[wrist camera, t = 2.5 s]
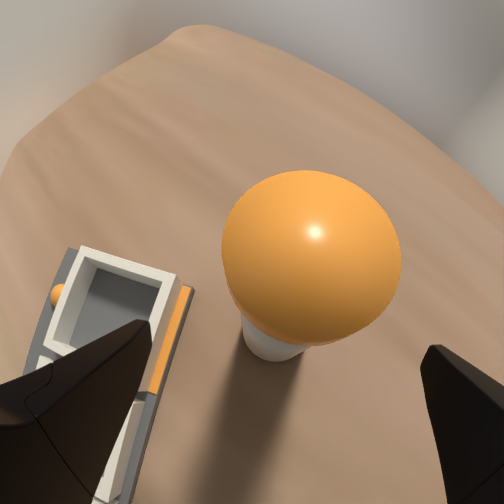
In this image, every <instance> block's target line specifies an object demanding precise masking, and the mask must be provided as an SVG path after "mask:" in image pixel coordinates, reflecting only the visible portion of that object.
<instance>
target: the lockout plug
mask: <svg viewBox="0 0 504 504" xmlns="http://www.w3.org/2000/svg"><path fill="white" fill-rule="evenodd" d="M222 259H223V265H224V270H225V275H226V280H227V284H228V288H229V291H230V294H231V296H232V298H233V300H234V302H235V304H236V305H237V307H238V308H239V310H240V311H241V321H242V330H243V337H244V340H245V343H246V345H247V346H248V348H249V349H250V350H251V352H252V353H254V354H255V355H256V356H257V357H259V358H261V359H263V360H266V361H271V362H281V361H285V360H288V359H290V358H292V357H294V356H296V355H297V354H299V353H301V352H303V351H304V350H306V349H308V348H309V347H311V346H319V345H325V344H329V343H333V342H336V341H339V340H341V339H343V338H346V337H348V336H349V335H351V334H353V333H355V332H357V331H359V330H361V329H362V328H364V327H366V326H367V325H369V324H370V323H371V322H373V321H374V320H375V319H376V318H377V317H378V316H379V315H380V314H381V313H382V312H383V311H384V310H385V309H386V307H387V306H388V304H389V303H390V301H391V299H392V298H393V295H394V293H395V291H396V289H397V285H398V282H399V278H400V272H401V252H400V245H399V241H398V238H397V235H396V232H395V229H394V227H393V225H392V223H391V221H390V219H389V218H388V216H387V215H386V213H385V212H384V210H383V209H382V208H381V206H380V205H379V204H378V203H377V202H376V201H375V200H374V199H373V198H372V197H371V196H370V195H369V194H368V193H366V192H365V191H364V190H362V189H361V188H360V187H358V186H356V185H355V184H353V183H351V182H349V181H347V180H345V179H343V178H340V177H338V176H335V175H331V174H328V173H323V172H317V171H292V172H286V173H282V174H277V175H275V176H272V177H269V178H267V179H265V180H263V181H261V182H259V183H258V184H256V185H255V186H253V187H252V188H250V189H249V190H248V191H247V192H246V193H245V194H244V195H243V196H242V197H241V198H240V199H239V200H238V202H237V203H236V204H235V206H234V207H233V209H232V211H231V212H230V214H229V217H228V219H227V221H226V224H225V228H224V231H223V237H222Z"/></svg>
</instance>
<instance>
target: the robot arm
mask: <svg viewBox="0 0 504 504" xmlns="http://www.w3.org/2000/svg"><path fill="white" fill-rule="evenodd" d="M151 349H152V335H151V326H150V323H149V321H147V320H142V319H135V320H133V321H131V322H129V323H127V324H125V325H123V326H121V327H119V328H118V329H116V330H114V331H112V332H110V333H108V334H106V335H104V336H102V337H100V338H98V339H96V340H94V341H92V342H90V343H88V344H86V345H84V346H82V347H80V348H79V349H77V350H75V351H73V352H71V353H69V354H67V355H65V356H63V357H61V358H59V359H57V360H55V361H53V363H49V364H47V365H45V366H43V367H41V368H39V369H37V370H35V371H33V372H31V373H28V374H26V375H24V376H21V377H19V378H16V379H14V380H11V381H9V382H6V383H4V384H1V385H0V504H91V503H92V501H93V498H92V497H94V495H95V493H96V490H97V487H98V485H99V482H100V480H101V477H102V475H103V472H104V470H105V467H106V465H107V462H108V460H109V458H110V455H111V453H112V450H113V448H114V446H115V443H116V441H117V438H118V436H119V434H120V431H121V429H122V427H123V424H124V422H125V420H126V417H127V415H128V413H129V410H130V408H131V406H132V404H133V401H134V399H135V397H136V395H137V392H138V390H139V387H140V384H141V381H142V378H143V375H144V371H145V368H146V365H147V362H148V358H149V355H150V352H151ZM420 372H421V377H422V382H423V387H424V393H425V399H426V405H427V409H428V413H429V417H430V421H431V425H432V429H433V433H434V437H435V441H436V446H437V450H438V455H439V459H440V464H441V469H442V474H443V480H444V485H445V491H446V497H447V504H504V386H503V385H501V384H500V383H498V382H497V381H495V380H494V379H492V378H491V377H489V376H488V375H487V374H485V373H484V372H482V371H481V370H479V369H478V368H476V367H475V366H473V365H472V364H470V363H469V362H467V361H465V360H464V359H462V358H461V357H459V356H458V355H456V354H455V353H453V352H452V351H450V350H449V349H447V348H446V347H444V346H443V345H430V346H429V348H428V350H427V352H426V354H425V356H424V358H423V360H422V363H421V366H420Z"/></svg>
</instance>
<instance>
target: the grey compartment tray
mask: <svg viewBox="0 0 504 504" xmlns="http://www.w3.org/2000/svg"><path fill="white" fill-rule="evenodd" d="M194 291H195V290H194V288H193V287H191V286H188V285H184V284H182V283H181V282H180V280H179V279H178V277H177V275H175V274H172V273H169V272H165V271H162V270H158V269H155V268H152V267H148V266H145V265H142V264H139V263H135V262H132V261H129V260H126V259H123V258H119V257H116V256H113V255H110V254H107V253H104V252H101V251H97V250H94V249H91V248H88V247H85V246H82V245H81V247H80V250H79V251H78V250H75V249H72V248H69V247H68V249H67V251H66V254H65V256H64V258H63V260H62V263H61V265H60V267H59V270H58V272H57V274H56V277H55V279H54V282H53V284H52V286H51V289H50V292H49V294H48V297H47V299H46V302H45V305H44V307H43V310H42V313H41V316H40V319H39V322H38V325H37V328H36V331H35V334H34V337H33V340H32V343H31V346H30V350H29V353H28V357H27V360H26V364H25V368H24V371H23V375H22V376H24V375H26V374H28V373H31V372H33V371H35V370H37V369H39V368H41V367H43V366H45V365H47V364H49V363H53V361H55V360H57V359H59V358H61V357H63V356H65V355H67V354H69V353H71V352H73V351H75V350H77V349H79V348H80V347H82V346H84V345H86V344H88V343H90V342H92V341H94V340H96V339H98V338H100V337H102V336H104V335H106V334H108V333H110V332H112V331H114V330H116V329H118V328H119V327H121V326H123V325H125V324H127V323H129V322H131V321H133V320H135V319H142V320H147V321H149V323H150V326H151V335H152V349H151V352H150V355H149V358H148V362H147V365H146V368H145V371H144V375H143V378H142V381H141V384H140V387H139V390H138V392H137V395H136V397H135V399H134V401H133V404H132V406H131V408H130V410H129V413H128V415H127V417H126V420H125V422H124V424H123V427H122V429H121V431H120V434H119V436H118V438H117V441H116V443H115V446H114V448H113V450H112V453H111V455H110V458H109V460H108V462H107V465H106V467H105V470H104V472H103V475H102V477H101V480H100V482H99V485H98V487H97V490H96V493H95V495H94V497H92V498H93V501H92V503H91V504H131V503H132V499H133V495H134V491H135V487H136V483H137V479H138V475H139V471H140V468H141V464H142V460H143V457H144V453H145V449H146V446H147V442H148V439H149V435H150V432H151V428H152V425H153V421H154V418H155V414H156V411H157V407H158V404H159V401H160V397H161V394H162V391H163V387H164V384H165V381H166V378H167V374H168V371H169V368H170V365H171V362H172V358H173V355H174V352H175V349H176V346H177V343H178V340H179V337H180V333H181V330H182V327H183V324H184V321H185V318H186V315H187V312H188V309H189V306H190V303H191V300H192V297H193V294H194Z"/></svg>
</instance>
